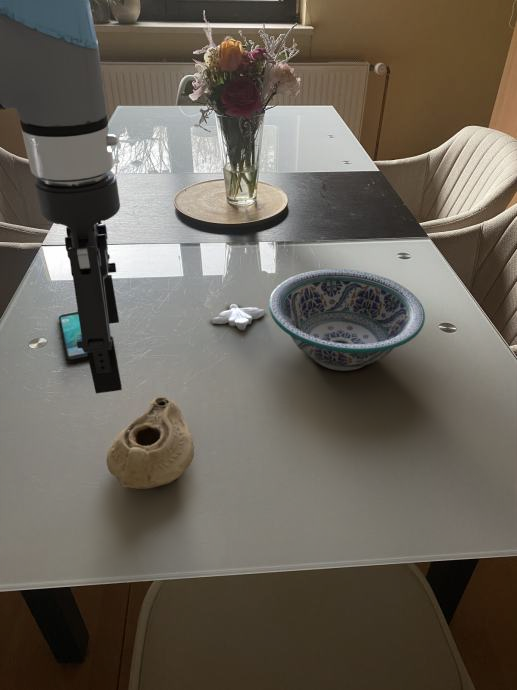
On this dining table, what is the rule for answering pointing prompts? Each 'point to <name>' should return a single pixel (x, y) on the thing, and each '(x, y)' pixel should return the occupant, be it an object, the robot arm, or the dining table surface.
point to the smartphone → (72, 337)
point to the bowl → (346, 316)
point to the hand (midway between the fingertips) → (108, 353)
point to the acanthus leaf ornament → (238, 316)
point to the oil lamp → (152, 447)
